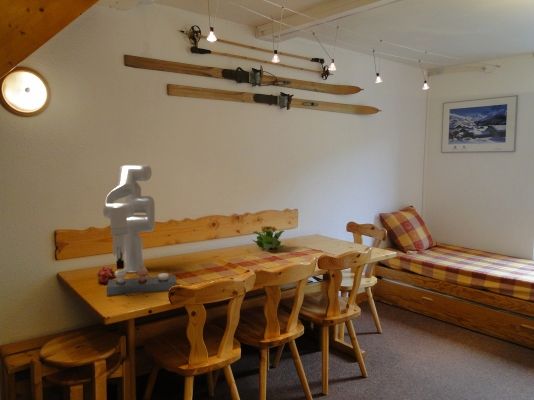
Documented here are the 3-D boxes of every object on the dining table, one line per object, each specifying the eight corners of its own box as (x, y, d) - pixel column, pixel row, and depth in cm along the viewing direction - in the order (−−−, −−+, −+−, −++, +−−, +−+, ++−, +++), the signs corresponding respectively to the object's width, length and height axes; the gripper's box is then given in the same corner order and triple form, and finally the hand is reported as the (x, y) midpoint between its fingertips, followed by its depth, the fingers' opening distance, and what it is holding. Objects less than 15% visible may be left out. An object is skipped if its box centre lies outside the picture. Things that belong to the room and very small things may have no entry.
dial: (137, 280, 205) (136, 269, 204) (147, 280, 206) (147, 268, 205) (137, 283, 200) (136, 271, 199) (147, 283, 201) (147, 271, 201)
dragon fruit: (103, 281, 219) (112, 290, 211) (90, 275, 214) (98, 284, 205) (112, 268, 221) (122, 276, 213) (100, 261, 216) (109, 269, 207)
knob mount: (109, 287, 205) (108, 280, 204) (175, 282, 213) (174, 275, 213) (106, 295, 193) (106, 287, 193) (176, 289, 202) (176, 281, 201)
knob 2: (158, 285, 208) (157, 273, 207) (168, 284, 209) (168, 272, 208) (158, 288, 203) (158, 276, 202) (168, 287, 204) (168, 275, 204)
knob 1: (115, 282, 202) (115, 270, 201) (126, 281, 203) (126, 269, 203) (115, 285, 197) (114, 273, 196) (126, 284, 198) (125, 272, 198)
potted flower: (295, 250, 285) (295, 225, 283) (272, 256, 268) (272, 230, 266) (269, 245, 303) (269, 221, 301) (245, 250, 285) (245, 225, 284)
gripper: (112, 228, 203) (113, 265, 205) (109, 234, 189) (110, 273, 191) (128, 228, 206) (129, 264, 207) (126, 233, 191) (127, 272, 193)
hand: (120, 268), depth 199 cm, fingers closed
